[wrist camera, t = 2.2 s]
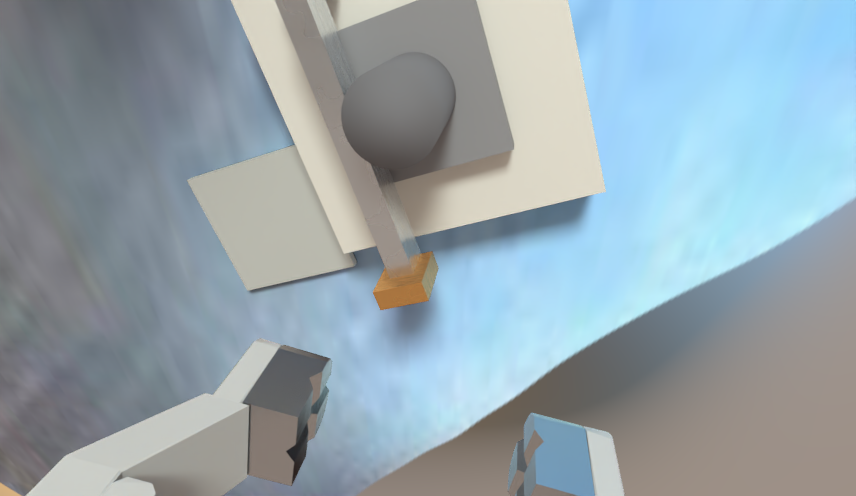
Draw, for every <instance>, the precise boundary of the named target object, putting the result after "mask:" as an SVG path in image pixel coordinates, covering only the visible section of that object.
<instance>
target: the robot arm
mask: <svg viewBox="0 0 856 496" xmlns="http://www.w3.org/2000/svg"><path fill="white" fill-rule="evenodd" d="M331 369H332V360H331V359H330V358H327V357H323V356H320V355H317V354H313V353H310V352H307V351H303V350H300V349H296V348H293V347H290V346H286V345H281V344H277V343H274V342H271V341H268V340H264V339H261V338H259V339H258V340H256V341H254V342H253V343H252V344H251V346H250V347H249V348H248V349H247V351H246V352H245V353H244V355H243V356H242V357H241V359H240V360H239V361H238V363H237V364H236V365H235V366H234V368H233V369H232V370H231V372H230V373H229V374H228V376H227V377H226V378H225V379H224V381H223V382H222V383H221V385H220V386H219V387H218V389H217V390H216V391H215V392H214V394H213V395H210V394H206V393H204V394H202V395H200V396H198V397H195V398H193V399H191V400H189V401H186V402H184V403H182V404H180V405H177V406H175V407H173V408H171V409H168V410H166V411H164V412H162V413H160V414H157V415H155V416H153V417H151V418H148V419H146V420H144V421H142V422H139V423H137V424H135V425H133V426H130V427H128V428H126V429H124V430H122V431H119V432H117V433H115V434H113V435H110V436H108V437H106V438H104V439H101V440H99V441H97V442H95V443H92V444H90V445H88V446H86V447H84V448H81V449H79V450H77V451H75V452H72V453H70V454H68V455H66V456H65V457H64V458H63V459H62V460H61V461H60V462H59V463H58V464H57V465H56V466H55V467H54V468H53V469H52V470H51V471H50V472H49V473H48V474H47V475H46V476H45V477H44V478H43V479H42V480H41V481H40V482H39V483H38V484H37V485H36V486H35V487H34V488H33V489H32V490H31V491H30V492H29V493H28V494H27V495H26V496H222V495H224V494H225V493H227V492H228V491H229V490H231V489H232V488H233V487H235V486H236V485H238V484H239V483H240V482H242V481H243V480H244V479H246V478H247V475H251V476H255V477H259V478H262V479H266V480H270V481H274V482H278V483H282V484H286V485H290V486H292V484H293V482H294V480H295V478H296V476H297V474H298V471H299V469H300V467H301V465H302V463H303V461H304V459H305V457H306V450H307V442H308V441H309V440H311V439H312V438H314V437H315V435H316V433H317V430H318V428H319V426H320V423H321V420H322V418H323V415H324V412H325V408H326V404H327V400H328V393H329V390H328V388H327V386H326V383H327V381H328V379H329V377H330V375H331ZM508 492H509V494H510V496H625V495H624V490H623V485H622V480H621V475H620V471H619V466H618V461H617V457H616V451H615V447H614V442H613V438H612V436H611V435H610V433H608V432H605V431H601V430H597V429H593V428H589V427H585V426H580V425H577V424H573V423H569V422H565V421H561V420H557V419H554V418H550V417H546V416H542V415H538V414H535V413H531V414H530V415H529V417H528V418H527V421H526V423H525V425H524V439H522V440H520V441H518V442H517V445H516V447H515V450H514V453H513V456H512V460H511V465H510V470H509V480H508Z"/></svg>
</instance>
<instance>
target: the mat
mask: <svg viewBox="0 0 856 496" xmlns="http://www.w3.org/2000/svg"><path fill="white" fill-rule="evenodd" d="M187 182H188V183H189V185H190V187H191V189H192V191H193V192H194V194H195V196H196V198H197V200H198V202H199V203H200V205H201V207H202V209H203V211H204V212H205V214H206V216H207V218H208V220H209V222H210V223H211V225H212V227H213V229H214V231H215V232H216V234H217V236H218V238H219V240H220V241H221V243H222V245H223V247H224V249H225V251H226V252H227V254H228V256H229V258H230V260H231V261H232V263H233V265H234V267H235V269H236V271H237V272H238V274H239V276H240V278H241V280H242V281H243V283H244V285H245V287H246V289H247V291H248V290H253V289H257V288H262V287H266V286H270V285H275V284H279V283H283V282H288V281H292V280H297V279H301V278H305V277H310V276H314V275H319V274H323V273H327V272H332V271H336V270H341V269H345V268H349V267H354V266H355V265H356V263H357V261H356V259H355V256H354V254H353V252H350V253H345V254H344V253H343V251H342V248H341V246H340V244H339V242H338V239H337V237H336V235H335V233H334V230H333V228H332V226H331V224H330V221H329V219H328V217H327V215H326V212H325V210H324V208H323V206H322V203H321V201H320V199H319V197H318V194H317V192H316V190H315V188H314V185H313V183H312V181H311V179H310V176H309V174H308V172H307V170H306V168H305V165H304V163H303V161H302V159H301V156H300V154H299V152H298V150H297V147H296V145H292V146H289V147H286V148H283V149H280V150H277V151H273V152H270V153H267V154H264V155H261V156H258V157H255V158H251V159H248V160H245V161H242V162H239V163H236V164H233V165H230V166H226V167H223V168H220V169H217V170H214V171H211V172H208V173H204V174H201V175H198V176H195V177H192V178H190V179H188V180H187Z"/></svg>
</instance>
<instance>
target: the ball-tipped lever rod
mask: <svg viewBox="0 0 856 496" xmlns="http://www.w3.org/2000/svg"><path fill="white" fill-rule="evenodd" d="M326 1H327V0H275V2H276V4H277V7H278V9H279V12H280V14H281V17H282V19H283V21H284V24H285V26H286V29H287V31H288V33H289V36H290V38H291V41H292V43H293V46H294V48H295V50H296V53H297V55H298V58H299V60H300V62H301V65H302V67H303V70H304V72H305V75H306V77H307V79H308V82H309V84H310V87H311V89H312V92H313V94H314V96H315V99H316V101H317V104H318V106H319V108H320V111H321V113H322V116H323V118H324V121H325V123H326V125H327V128H328V130H329V133H330V135H331V137H332V140H333V142H334V145H335V147H336V150H337V152H338V154H339V157H340V159H341V162H342V164H343V166H344V169H345V171H346V174H347V176H348V179H349V181H350V183H351V186H352V188H353V191H354V193H355V196H356V198H357V200H358V203H359V205H360V208H361V210H362V212H363V215H364V217H365V220H366V222H367V225H368V227H369V229H370V232H371V234H372V237H373V239H374V241H375V244H376V246H377V249H378V251H379V254H380V256H381V258H382V261H383V263H384V266H385V269H384V271H383V273H382V275H381V277H380V279H379V281H378V283H377V285H376V287H375V289H374V291H373V294H374V296H375V298H376V301H377V303H378V305H379V308H380V310H384V309H389V308H394V307H399V306H404V305H409V304H414V303H420V302H425V301H429V298H430V295H431V291H432V288H433V285H434V281H435V278H436V275H437V272H438V265H437V263H436V260H435V257H434V254H433V252H432V251H431V252H426V253H422V254H421V252H420V250H419V247H418V244H417V242H416V239H415V236H414V234H413V231H412V228H411V226H410V223H409V220H408V218H407V215H406V212H405V210H404V207H403V204H402V202H401V199H400V196H399V194H398V191H397V188H396V186H395V183H394V180H393V178H392V175H391V172H390V170H389V169H384V168H380V167H377V166H375V165H373V164H370V163H369V162H367V161H365V160H364V159H363V158H362V157H360V156H359V155H358V154H357V153H356V152H355V151H354V149H353V148H352V147H351V145H350V144H349V142H348V140H347V138H346V136H345V134H344V131H343V127H342V122H341V108H342V102H343V99H344V96H345V94H346V92H347V90H348V88H349V87H350V85H351V84H352V83H353V82H354V81H355V80H356V79H355V77H354V74H353V71H352V69H351V66H350V63H349V61H348V58H347V55H346V53H345V50H344V47H343V45H342V42H341V39H340V37H339V34H338V31H337V29H336V26H335V23H334V21H333V18H332V16H331V13H330V10H329V8H328V5H327V2H326Z"/></svg>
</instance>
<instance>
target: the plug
mask: <svg viewBox="0 0 856 496" xmlns="http://www.w3.org/2000/svg"><path fill="white" fill-rule="evenodd" d="M338 34H339V37H340V39H341V42H342V45H343V47H344V50H345V53H346V55H347V58H348V61H349V63H350V66H351V69H352V71H353V74H354V77H355V79H356V80H355V81H354V82H353V83H352V84H351V85H350V87H349V88H348V90H347V92H346V94H345V96H344V99H343V102H342V108H341V122H342V127H343V131H344V134H345V136H346V138H347V140H348V142H349V144H350V145H351V147H352V148H353V149H354V151H355V152H356V153H357V154H358V155H359V156H360V157H362V158H363V159H364V160H365V161H367V162H369V163H370V164H373V165H375V166H377V167H380V168H384V169H389V170H390V172H391V175H392V178H393V180H394V182H398V181H402V180H405V179H409V178H413V177H416V176H420V175H423V174H427V173H431V172H434V171H438V170H442V169H445V168H449V167H453V166H456V165H460V164H464V163H467V162H471V161H474V160H478V159H482V158H485V157H489V156H493V155H496V154H500V153H504V152H507V151H511V150H514V140H513V137H512V133H511V129H510V125H509V122H508V118H507V114H506V110H505V107H504V103H503V99H502V95H501V91H500V88H499V84H498V80H497V76H496V73H495V69H494V65H493V61H492V58H491V54H490V50H489V46H488V42H487V39H486V35H485V31H484V27H483V24H482V20H481V16H480V12H479V9H478V5H477V1H476V0H417V1H414V2H411V3H409V4H406V5H404V6H401V7H398V8H396V9H393V10H391V11H388V12H385V13H383V14H380V15H378V16H375V17H372V18H370V19H367V20H365V21H362V22H359V23H357V24H354V25H352V26H349V27H346V28H344V29H341V30H339V31H338Z"/></svg>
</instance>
